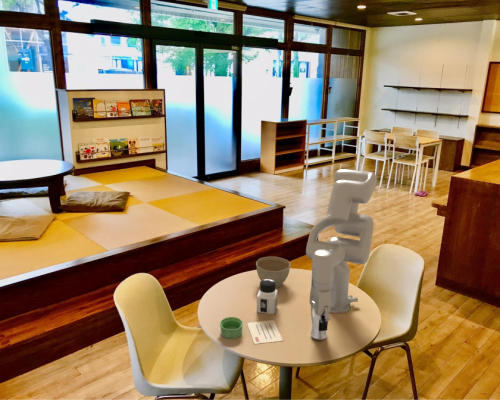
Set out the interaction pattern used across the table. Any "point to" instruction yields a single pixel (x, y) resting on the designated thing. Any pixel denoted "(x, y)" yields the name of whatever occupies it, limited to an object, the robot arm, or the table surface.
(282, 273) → the planter bowl
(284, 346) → the table surface
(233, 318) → the ramekin
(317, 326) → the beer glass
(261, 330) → the letter
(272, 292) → the container
